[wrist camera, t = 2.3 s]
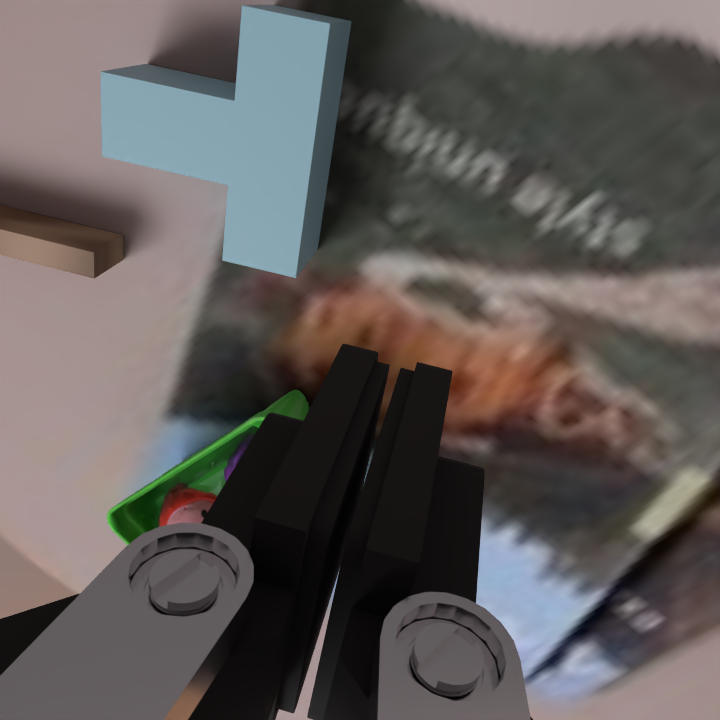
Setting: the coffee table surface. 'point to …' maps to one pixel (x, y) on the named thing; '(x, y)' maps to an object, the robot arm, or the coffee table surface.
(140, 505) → the fruit basket
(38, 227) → the u-shaped wooden frame
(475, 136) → the coffee table surface
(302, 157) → the t block
